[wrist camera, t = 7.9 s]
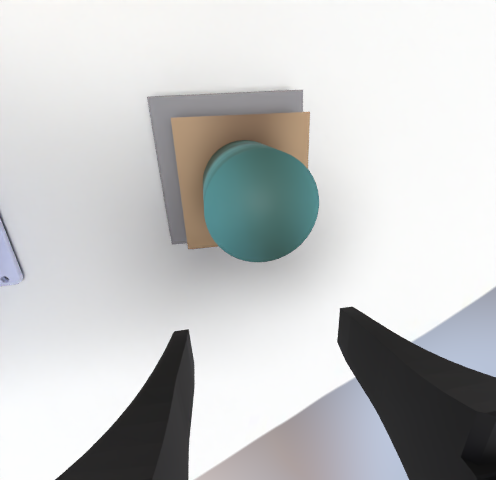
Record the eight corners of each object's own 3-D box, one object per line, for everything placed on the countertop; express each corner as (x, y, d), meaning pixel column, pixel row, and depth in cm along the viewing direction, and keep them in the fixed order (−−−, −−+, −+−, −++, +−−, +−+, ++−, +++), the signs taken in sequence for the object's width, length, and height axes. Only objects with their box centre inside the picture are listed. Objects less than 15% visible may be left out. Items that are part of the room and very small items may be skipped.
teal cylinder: (207, 226, 16) (210, 268, 12) (198, 142, 15) (197, 153, 10) (284, 219, 17) (316, 255, 12) (284, 137, 15) (321, 144, 10)
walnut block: (190, 231, 19) (188, 249, 17) (176, 118, 17) (170, 117, 14) (291, 222, 20) (305, 238, 17) (293, 113, 18) (309, 111, 15)
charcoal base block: (175, 229, 22) (171, 244, 20) (155, 100, 19) (147, 96, 16) (288, 218, 23) (300, 231, 21) (289, 94, 20) (302, 89, 17)
